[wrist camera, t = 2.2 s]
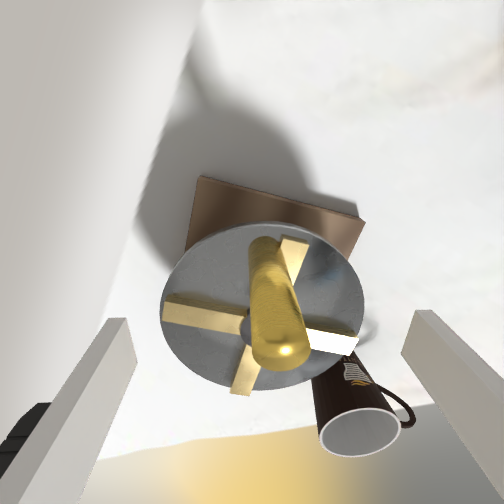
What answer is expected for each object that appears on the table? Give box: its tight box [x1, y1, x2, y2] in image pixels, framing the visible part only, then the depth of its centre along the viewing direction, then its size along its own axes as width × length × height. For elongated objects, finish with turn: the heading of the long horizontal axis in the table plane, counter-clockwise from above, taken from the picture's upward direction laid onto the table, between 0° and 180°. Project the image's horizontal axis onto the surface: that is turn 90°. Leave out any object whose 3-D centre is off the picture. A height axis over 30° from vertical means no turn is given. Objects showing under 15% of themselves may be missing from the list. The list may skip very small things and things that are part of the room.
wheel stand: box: [184, 176, 366, 261], centre depth 28 cm, size 17×19×6 cm
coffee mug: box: [311, 350, 416, 457], centre depth 33 cm, size 12×9×10 cm
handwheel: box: [160, 221, 364, 396], centre depth 20 cm, size 18×18×12 cm
